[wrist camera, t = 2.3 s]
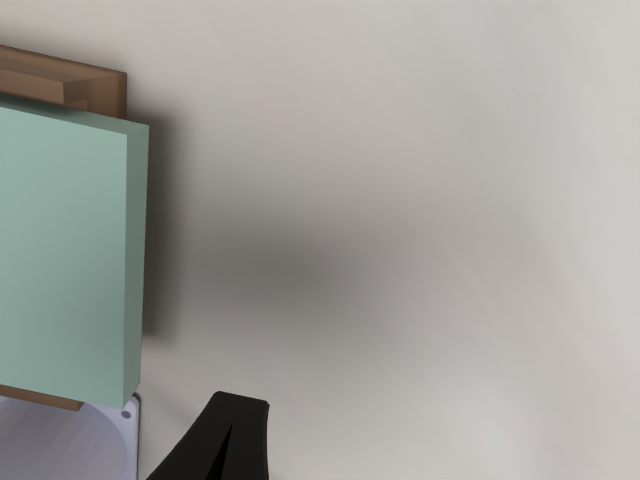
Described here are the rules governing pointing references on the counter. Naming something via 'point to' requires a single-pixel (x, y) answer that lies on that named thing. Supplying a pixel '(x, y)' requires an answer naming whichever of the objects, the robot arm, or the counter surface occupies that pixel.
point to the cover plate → (71, 251)
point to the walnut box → (68, 91)
